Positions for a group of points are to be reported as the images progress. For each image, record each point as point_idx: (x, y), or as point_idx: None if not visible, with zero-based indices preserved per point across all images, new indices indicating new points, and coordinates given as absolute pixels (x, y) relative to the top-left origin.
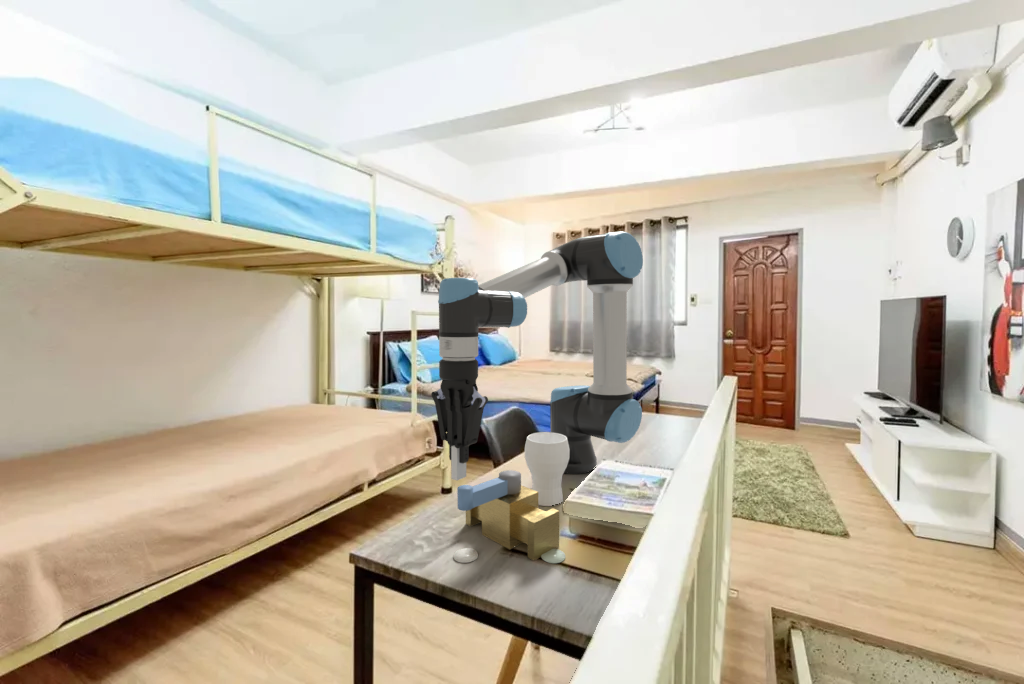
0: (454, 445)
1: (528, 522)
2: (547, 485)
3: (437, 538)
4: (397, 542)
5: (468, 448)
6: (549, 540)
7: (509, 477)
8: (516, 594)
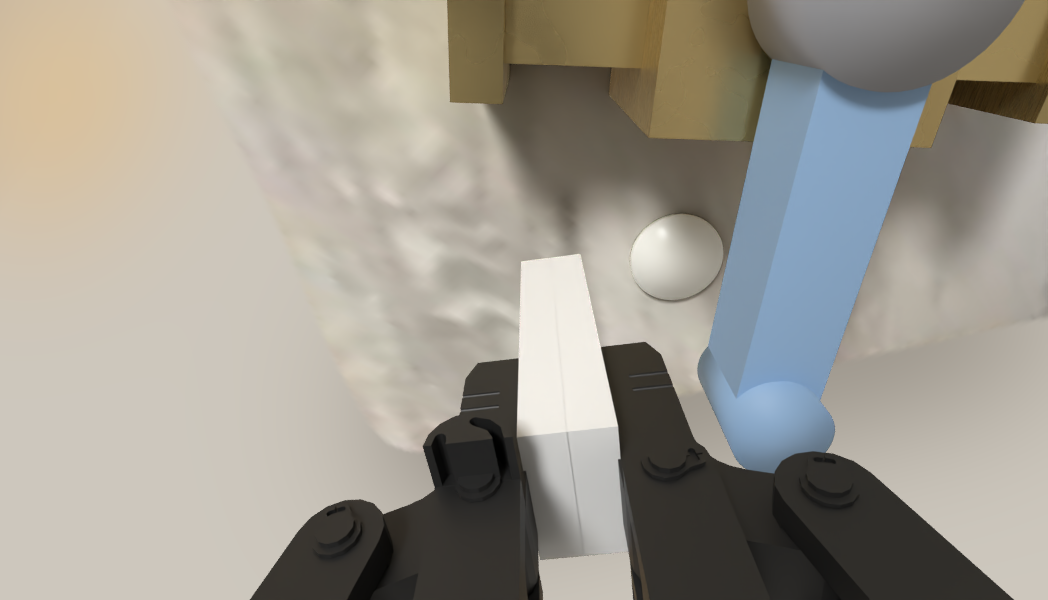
0: (545, 530)
1: (1030, 120)
2: None
3: (489, 248)
4: (410, 357)
5: (689, 430)
6: None
7: (956, 45)
8: (958, 287)
